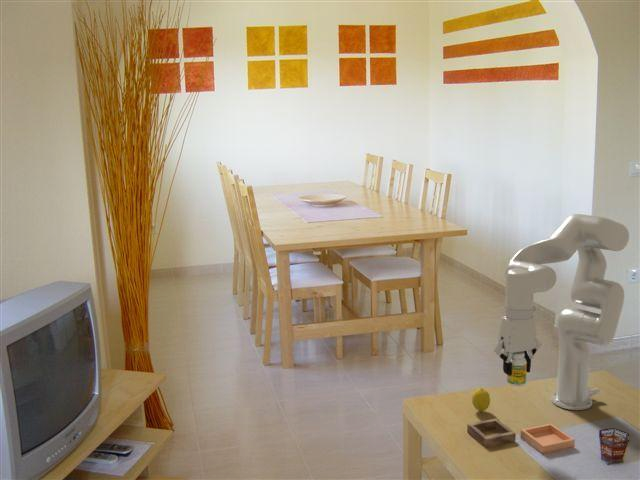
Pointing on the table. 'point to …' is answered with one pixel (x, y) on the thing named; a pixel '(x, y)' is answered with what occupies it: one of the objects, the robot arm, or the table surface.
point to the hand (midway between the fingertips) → (516, 371)
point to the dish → (547, 438)
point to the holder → (504, 437)
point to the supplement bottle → (518, 370)
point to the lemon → (481, 399)
